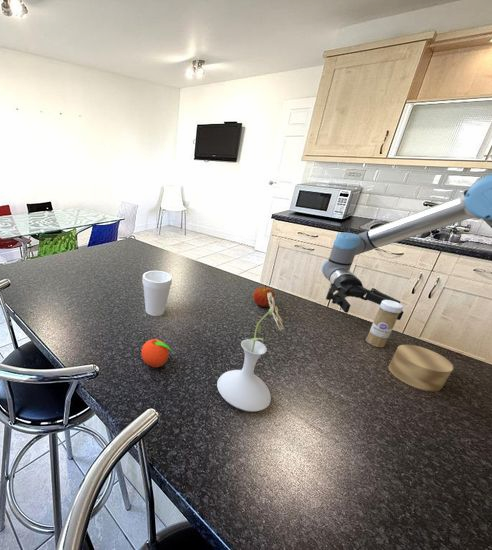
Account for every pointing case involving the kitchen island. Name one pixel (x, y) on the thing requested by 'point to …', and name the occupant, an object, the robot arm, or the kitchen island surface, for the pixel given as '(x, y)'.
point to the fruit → (262, 296)
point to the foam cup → (156, 291)
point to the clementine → (155, 353)
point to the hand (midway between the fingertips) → (373, 312)
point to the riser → (420, 367)
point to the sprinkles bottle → (384, 323)
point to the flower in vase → (249, 372)
